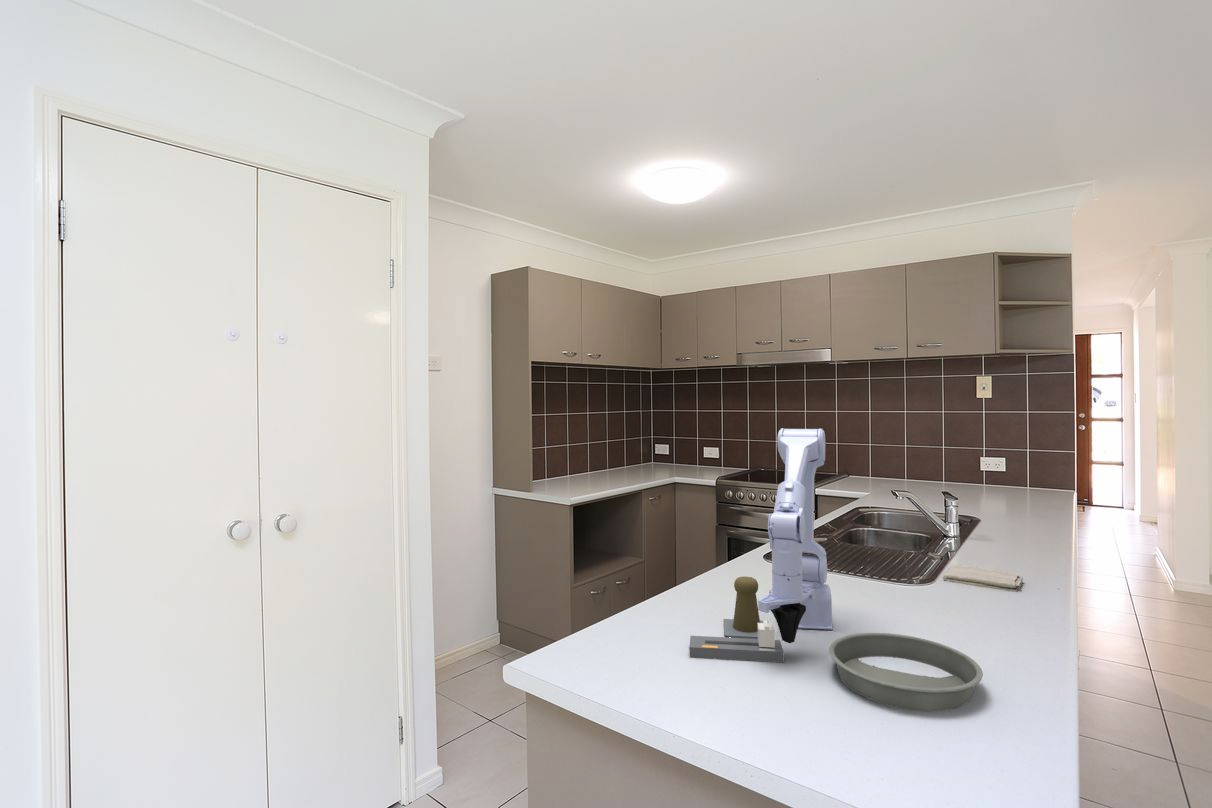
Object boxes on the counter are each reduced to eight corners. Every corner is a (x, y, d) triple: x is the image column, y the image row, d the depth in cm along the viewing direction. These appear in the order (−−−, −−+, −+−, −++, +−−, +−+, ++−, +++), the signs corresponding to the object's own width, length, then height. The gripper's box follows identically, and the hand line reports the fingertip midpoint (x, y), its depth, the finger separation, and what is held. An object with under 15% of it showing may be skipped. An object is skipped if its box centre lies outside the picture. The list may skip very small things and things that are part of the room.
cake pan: (1019, 703, 101) (1018, 676, 101) (897, 728, 94) (896, 699, 94) (906, 647, 124) (906, 625, 124) (802, 663, 117) (801, 640, 117)
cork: (761, 633, 131) (760, 582, 131) (732, 631, 132) (731, 581, 132) (760, 623, 137) (759, 574, 137) (733, 621, 138) (732, 573, 138)
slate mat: (768, 622, 138) (768, 620, 138) (772, 640, 128) (772, 637, 128) (723, 620, 140) (723, 618, 140) (724, 637, 130) (724, 635, 130)
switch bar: (780, 649, 123) (780, 639, 123) (783, 662, 117) (783, 651, 117) (690, 645, 126) (690, 635, 126) (689, 657, 120) (689, 646, 120)
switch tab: (772, 640, 122) (772, 620, 122) (774, 647, 119) (774, 627, 119) (757, 639, 123) (757, 619, 123) (759, 646, 119) (758, 626, 119)
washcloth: (1019, 595, 157) (1019, 583, 157) (941, 582, 168) (941, 571, 168) (1023, 583, 166) (1023, 572, 166) (949, 572, 177) (949, 562, 177)
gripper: (795, 562, 127) (796, 627, 127) (746, 573, 119) (747, 643, 119) (823, 569, 121) (824, 637, 121) (774, 582, 113) (775, 655, 113)
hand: (788, 641), depth 120 cm, fingers closed
